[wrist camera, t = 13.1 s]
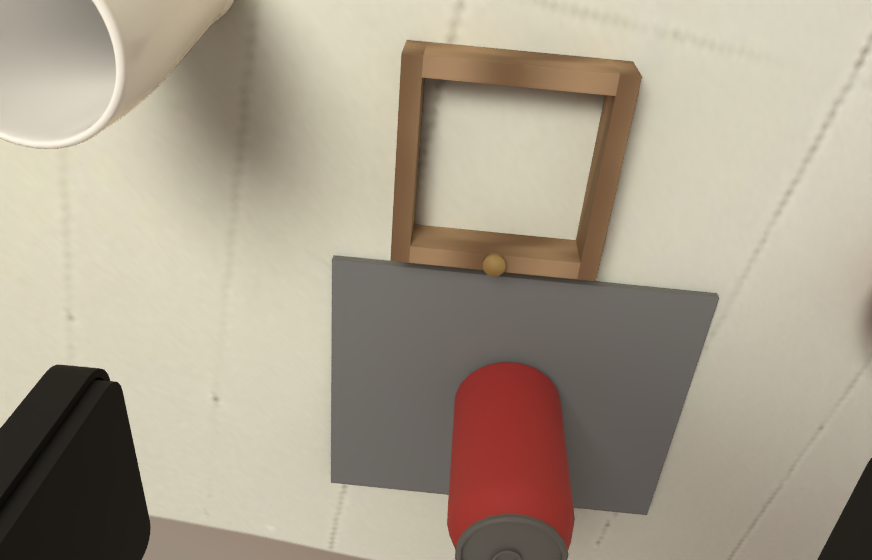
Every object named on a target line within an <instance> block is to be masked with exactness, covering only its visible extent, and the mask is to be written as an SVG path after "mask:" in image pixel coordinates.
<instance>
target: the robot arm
mask: <svg viewBox="0 0 872 560" xmlns="http://www.w3.org/2000/svg"><path fill="white" fill-rule="evenodd" d="M149 536H150V520H149V515H148V510H147V505H146V501H145V496H144V491H143V486H142V482H141V477H140V472H139V467H138V463H137V458H136V453H135V448H134V443H133V439H132V434H131V429H130V424H129V420H128V415H127V410H126V405H125V401H124V396H123V391H122V388H121V385H120V384H119V383H118V382H113V381H110V378H109V376H108V373H107V372H106V371H105V370H104V369H99V368H89V367H78V366H68V365H55V366H52V367H51V368H50V369H49V370H48V371H47V372H46V373H45V374H44V375H43V377H42V378H41V379H40V380H39V381H38V383H37V384H36V385H35V386H34V388H33V389H32V390H31V391H30V393H29V394H28V395H27V396H26V397H25V399H24V400H23V401H22V402H21V404H20V405H19V406H18V407H17V409H16V410H15V411H14V412H13V413H12V415H11V416H10V417H9V418H8V420H7V421H6V422H5V423H4V425H3V426H2V427H1V428H0V560H142V558H143V555H144V553H145V551H146V548H147V545H148V541H149ZM818 560H872V458H871V459H870V461H869V462H868V464H867V466H866V467H865V469H864V471H863V473H862V475H861V477H860V479H859V481H858V483H857V485H856V487H855V489H854V490H853V492H852V494H851V496H850V498H849V500H848V502H847V504H846V506H845V508H844V510H843V512H842V514H841V515H840V517H839V519H838V521H837V523H836V525H835V527H834V529H833V531H832V533H831V535H830V537H829V538H828V540H827V542H826V544H825V546H824V548H823V550H822V552H821V554H820V556H819V558H818Z"/></svg>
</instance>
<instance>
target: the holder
mask: <svg viewBox="0 0 872 560" xmlns="http://www.w3.org/2000/svg"><path fill="white" fill-rule="evenodd" d="M425 78H433V79H443V80H454V81H464V82H474V83H485V84H495V85H506V86H516V87H526V88H537V89H547V90H558V91H568V92H578V93H589V94H599V95H605V99H604V104H603V109H602V114H601V119H600V124H599V129H598V134H597V139H596V143H595V148H594V153H593V158H592V163H591V168H590V173H589V178H588V183H587V188H586V193H585V198H584V203H583V208H582V213H581V218H580V223H579V228H578V233H577V237H576V240H566V239H555V238H545V237H535V236H525V235H515V234H505V233H495V232H484V231H474V230H464V229H454V228H444V227H434V226H424V225H414V223H415V209H416V195H417V181H418V166H419V152H420V138H421V124H422V110H423V96H424V82H425ZM641 79H642V76H641V74H640V73H639V71H638V69H637V67H636V66H635V64H634V62H631V61H621V60H610V59H600V58H589V57H579V56H568V55H558V54H548V53H537V52H527V51H516V50H506V49H495V48H485V47H474V46H464V45H453V44H443V43H432V42H422V41H412V40H407V41H406V43H405V46H404V49H403V51H402V55H401V74H400V93H399V111H398V130H397V149H396V168H395V187H394V205H393V224H392V243H391V261H397V262H407V263H417V264H427V265H437V266H448V267H458V268H468V269H478V270H484V272H485V273H486V274H487V275H489V276H493V277H495V276H499V275H501V274H502V273H503V272H508V273H518V274H528V275H538V276H548V277H559V278H569V279H579V280H589V281H596V278H597V274H598V270H599V265H600V261H601V256H602V252H603V247H604V243H605V239H606V234H607V230H608V225H609V221H610V216H611V212H612V207H613V203H614V199H615V194H616V190H617V185H618V181H619V176H620V172H621V168H622V163H623V159H624V154H625V150H626V145H627V141H628V137H629V132H630V128H631V123H632V119H633V114H634V110H635V106H636V101H637V97H638V92H639V88H640V83H641Z"/></svg>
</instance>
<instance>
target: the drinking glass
mask: <svg viewBox="0 0 872 560" xmlns="http://www.w3.org/2000/svg"><path fill="white" fill-rule="evenodd" d="M233 2H234V0H0V139H2V140H5V141H7V142H10V143H14V144H17V145H21V146H25V147H31V148H37V149H58V148H65V147H70V146H74V145H77V144H80V143H82V142H85V141H87V140H88V139H90V138H92V137H94V136H95V135H97V134H98V133H100V132H101V131H103V130H104V129H106V128H107V127H109V126H110V125H112V124H113V123H115V122H116V121H118V120H119V119H121V118H122V117H123V116H125V115H126V114H128V113H129V112H130V111H131V110H133V109H134V108H135V107H137V106H138V105H139V104H140V103H141V102H142V101H143V100H145V99H146V98H147V97H148V96H149V95H150V94H151V93H152V92H153V91H154V90H155V89H156V88H157V87H158V86H159V85H160V84H161V83H162V82H163V81H164V80H165V78H166V77H167V76H168V75H169V74H170V73H171V72H172V71H173V69H174V68H175V67H176V66H177V65H178V63H179V62H180V61H181V60H182V59H183V57H184V56H185V55H186V54H187V53H188V52H189V50H190V49H191V48H192V47H193V46H194V44H195V43H196V42H197V41H198V40H199V39H200V38H201V36H202V35H203V34H204V33H205V32H206V31H207V30H208V28H209V27H210V26H211V25H212V24H213V23H214V22H216V21H217V20H218V19H220V18H221V17H222V16H223V15H224V14H225V13H226V12H227V11H228V10H229V8H230V7H231V6H232V4H233Z"/></svg>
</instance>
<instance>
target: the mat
mask: <svg viewBox="0 0 872 560" xmlns="http://www.w3.org/2000/svg"><path fill="white" fill-rule="evenodd" d="M718 300H719V297H718V295H717V293H707V292H697V291H687V290H677V289H667V288H657V287H647V286H636V285H626V284H616V283H606V282H596V281H586V280H576V279H566V278H556V277H546V276H536V275H525V274H515V273H505V272H503V273H502V274H501V275H499V276H495V277H493V276H489V275H487V274H486V273H485V272H484V270H475V269H465V268H455V267H445V266H435V265H425V264H415V263H404V262H394V261H384V260H374V259H364V258H354V257H344V256H333V259H332V382H331V483H340V484H349V485H359V486H369V487H379V488H388V489H398V490H408V491H418V492H427V493H437V494H447V495H449V483H450V468H451V452H452V436H453V420H454V404H455V395H456V393H457V390H458V388H459V386H460V384H461V383H462V382H463V381H464V380H465V379H466V378H467V377H468V376H469V375H470V374H471V373H472V372H474V371H476V370H478V369H480V368H482V367H484V366H486V365H490V364H495V363H500V362H511V363H521V364H524V365H527V366H530V367H533V368H535V369H537V370H538V371H540V372H541V373H543V374H544V375H546V376H547V377H548V378H549V379H550V380H551V382H552V383H553V384H554V386H555V387H556V388H557V391H558V394H559V398H560V401H561V409H562V417H563V426H564V434H565V443H566V451H567V459H568V468H569V476H570V484H571V493H572V501H573V508H583V509H593V510H603V511H612V512H622V513H632V514H642V515H647V513H648V510H649V507H650V504H651V501H652V498H653V495H654V492H655V489H656V486H657V483H658V480H659V477H660V474H661V471H662V468H663V465H664V462H665V459H666V456H667V453H668V450H669V447H670V444H671V441H672V438H673V435H674V432H675V429H676V426H677V423H678V420H679V417H680V414H681V411H682V408H683V405H684V402H685V399H686V396H687V393H688V390H689V387H690V384H691V381H692V378H693V375H694V372H695V369H696V366H697V363H698V360H699V357H700V354H701V351H702V348H703V345H704V342H705V339H706V336H707V333H708V330H709V327H710V324H711V321H712V318H713V315H714V312H715V309H716V306H717V303H718Z"/></svg>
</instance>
